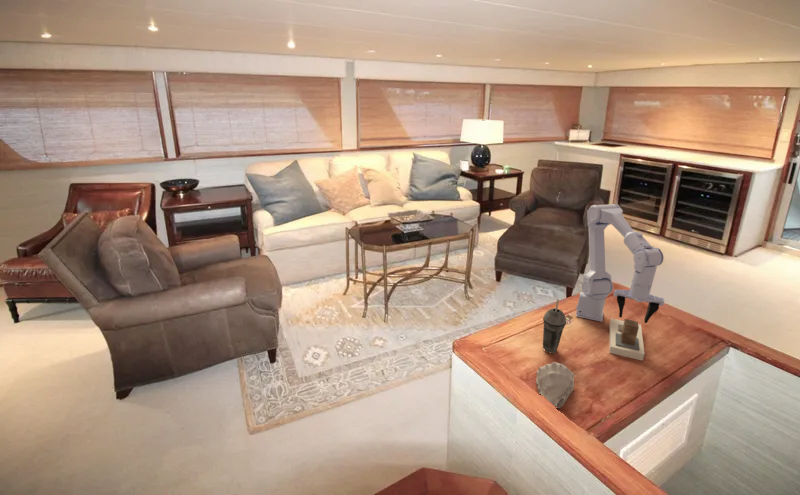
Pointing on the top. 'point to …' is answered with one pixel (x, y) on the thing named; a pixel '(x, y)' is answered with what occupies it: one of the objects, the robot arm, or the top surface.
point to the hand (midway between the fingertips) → (632, 318)
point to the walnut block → (629, 331)
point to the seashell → (555, 383)
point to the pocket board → (623, 351)
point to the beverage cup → (553, 328)
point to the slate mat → (619, 343)
